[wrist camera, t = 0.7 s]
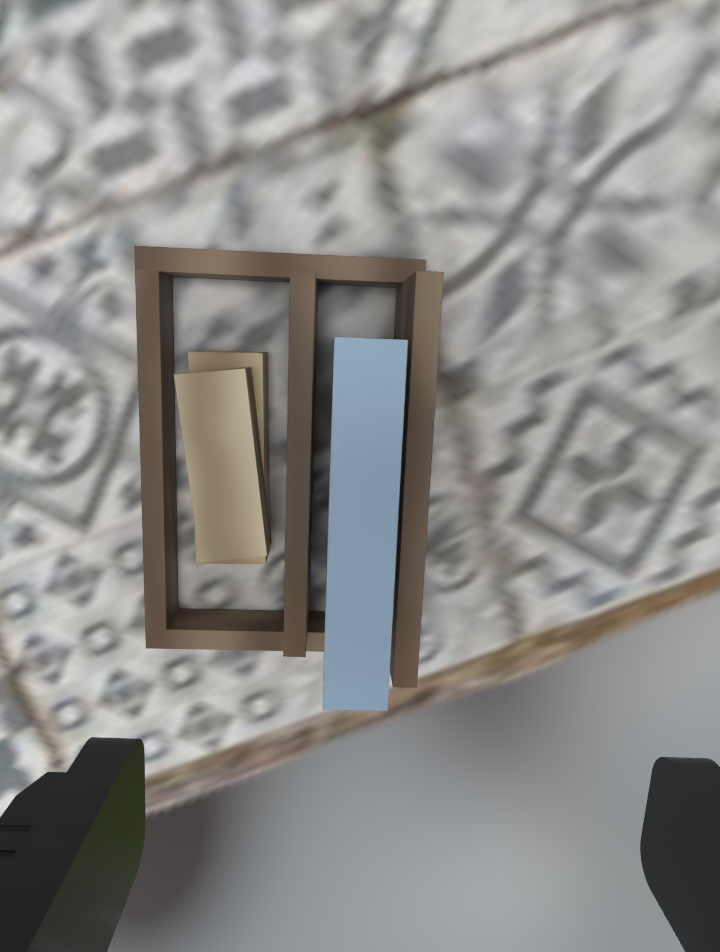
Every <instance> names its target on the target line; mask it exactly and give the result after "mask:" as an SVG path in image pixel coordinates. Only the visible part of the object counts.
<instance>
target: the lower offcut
mask: <svg viewBox="0 0 720 952" xmlns="http://www.w3.org/2000/svg"><path fill="white" fill-rule="evenodd" d="M188 366H189V372H193V371H205V370H217V369H229V368H241V367H252V376H253V385H254V393H255V402H256V411H257V420H258V428H259V437H260V446H261V455H262V463H263V472H264V481H265V489H266V498H267V507H268V516H269V524H270V498H269V426H268V355H267V352H221V351H194V352H188ZM195 548H196V563H224V564H266V561H267V558H268V555H269V552H270V548H269V551H268V555H267V556H263V557H251V558H240V559H229V560H218V561H207V562H200V558H199V551H198V543H197V536H196V529H195Z"/></svg>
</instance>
